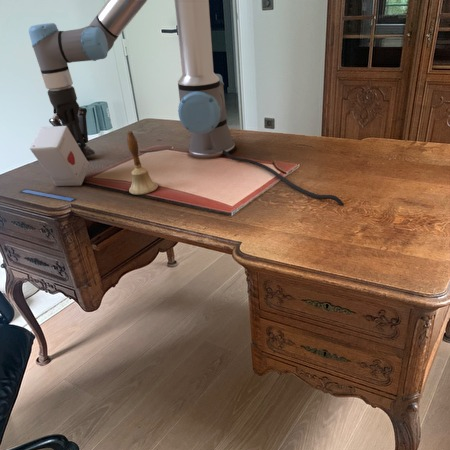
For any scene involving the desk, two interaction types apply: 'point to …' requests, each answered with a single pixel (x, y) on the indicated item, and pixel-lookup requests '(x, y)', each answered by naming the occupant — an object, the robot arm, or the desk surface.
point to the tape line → (48, 195)
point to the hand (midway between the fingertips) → (84, 168)
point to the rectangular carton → (60, 156)
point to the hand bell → (139, 171)
